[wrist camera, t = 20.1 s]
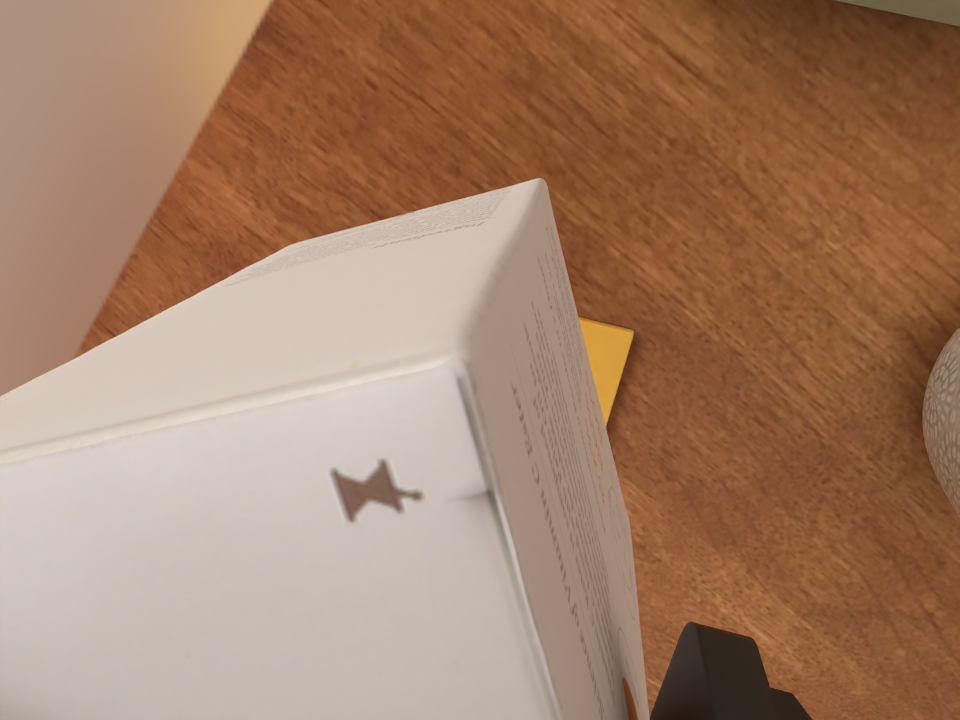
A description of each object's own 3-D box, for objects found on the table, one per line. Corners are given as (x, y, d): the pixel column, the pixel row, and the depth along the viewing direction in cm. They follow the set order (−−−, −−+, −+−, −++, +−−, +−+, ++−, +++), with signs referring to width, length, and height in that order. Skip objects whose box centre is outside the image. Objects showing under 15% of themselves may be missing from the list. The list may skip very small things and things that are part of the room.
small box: (290, 240, 15) (-235, 484, 6) (551, 171, 14) (459, 328, 4) (401, 562, 18) (165, 1137, 8) (634, 526, 17) (696, 1153, 7)
